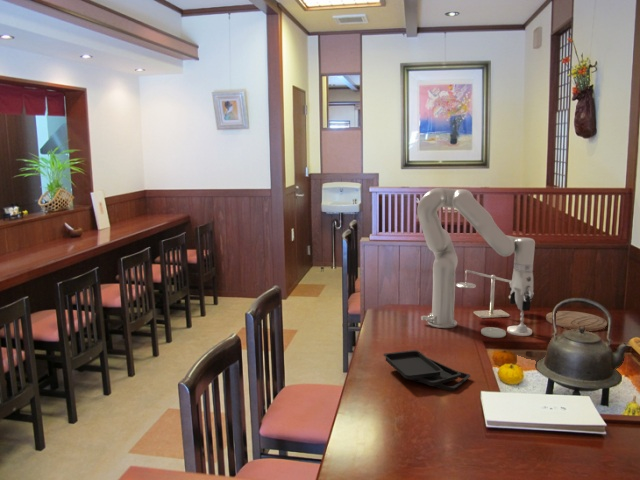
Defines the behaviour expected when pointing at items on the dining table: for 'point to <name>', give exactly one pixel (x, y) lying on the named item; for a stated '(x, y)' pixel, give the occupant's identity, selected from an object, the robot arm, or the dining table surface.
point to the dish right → (513, 331)
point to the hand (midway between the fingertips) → (519, 306)
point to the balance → (491, 312)
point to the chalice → (519, 303)
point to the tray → (424, 369)
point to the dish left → (493, 332)
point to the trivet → (577, 320)
